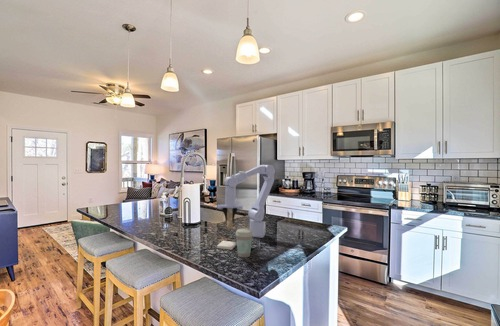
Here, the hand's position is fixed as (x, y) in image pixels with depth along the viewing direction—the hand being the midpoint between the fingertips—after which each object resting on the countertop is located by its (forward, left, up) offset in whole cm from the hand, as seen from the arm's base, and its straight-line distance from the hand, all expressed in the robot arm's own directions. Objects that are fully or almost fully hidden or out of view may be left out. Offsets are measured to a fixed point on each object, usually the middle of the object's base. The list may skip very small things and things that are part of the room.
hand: (229, 221), depth 140 cm
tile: (-3, +7, -10) cm, 13 cm away
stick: (0, 0, -4) cm, 4 cm away
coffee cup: (-15, +20, -11) cm, 27 cm away
